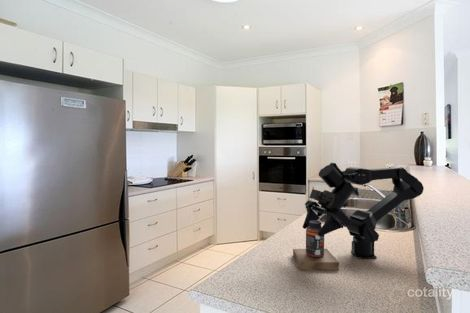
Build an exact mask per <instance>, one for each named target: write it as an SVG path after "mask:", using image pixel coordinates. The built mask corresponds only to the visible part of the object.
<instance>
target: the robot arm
mask: <svg viewBox="0 0 470 313" xmlns="http://www.w3.org/2000/svg"><path fill="white" fill-rule="evenodd" d="M318 177H319V178H320V179H321V180H322V181H323V182H324V183H325V185H326V186H328V187H329V188H330V189H331V188H333V189H332V190H331V191H330V190H326V189H324V190H323V191H321V190H317V189H314V188H313V189H312V190H311V192H310V194H309V197H308V198H309V200H307V201H305V203H304V206H305V209H306V216H305V217H304V222H303V224H302V228H303V229H304V230H306V228H307V227H309V221H311V220H316V221H319V220H320V217H321V216H323V215H325V216H326V221H324V223H323V225H322V226H321V227H322V228H321V229H320V231H319V233H318V236H319V237H321V236H323V235H324V236H325V235H327V234H329V233H333V232H334V231H336V230H339V229H344V227H345V228H346V229H347V230H348V232H349V235H350V236H352V241H351V250H350V252H351V253H352V254H353V255H354V256H355V257H356V258H357V259H377V258H378V257H377V255H375V242H377V241H378V240H379V237H380V234H379V233H378V232H377V231H376V228H377V227H376V226H377V223H378V222H379V221H380V220H382V219H383V218H385V216H388V214H390V212H392V211H393V210H394V209H396V208H397V207H399V206H400V205H401V204H402V203H404V202H405V201H410V200H414V199H416V198H418V197H420V196H421V195H422V194H423V193H424V185H423V182H421V181H420V179H418V178H417V177H415V176H414V175H412V173H409V172H408V170H406V168H404V167H402V166H401V167H400V166H391V167H382V168H381V167H380V168H379V167H378V168H372V169H371V168H370V169H369V168H368V169H367V168H363V167H362V168H360V167H352V166H351V167H347V168H345V170H341V169H340V167H339V166H338V165H337V164H336V162H330V163H329V164H328V165H325V166H324V167H322V168H321V169H320V170H319V172H318ZM389 179H390V180H391V182H392V184H393V190H392V191H391V192H390V193H389V194H387V195H386V196H385V197H383V198H382V199H381V200H379V201H378V202H377V203H375V204H374V205H373V206H371V207H370V208H369V209H367V210H366V211H363V210H360V209H358V210H356V211H354V212H353V213H352V214H349V215H347V213H345V211H344V210H342V208H344V209H345V208H346V207H347V204H346V202H348V200H349V199H350V197H352V195H353V196H356V197H357V196H358V197H359V195H360V194H359V190H358V189H359V188H358V187H355V186H354V185H358V186H364V185H367V184H369V183H371V182H372V181H377V180H379V181H380V180H389ZM314 200H315V201H314Z"/></svg>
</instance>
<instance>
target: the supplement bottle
mask: <svg viewBox="0 0 470 313" xmlns="http://www.w3.org/2000/svg"><path fill="white" fill-rule="evenodd" d="M322 226H323V225H322V221H320V220H317V221H316V220H311V221H309V227H307V228H306V229H305V249H306V254H307V255H308V256H310V257H315V258H320V257H323V256H324V249H325V235H323V236H321V237H319V236H318V233H319V231H320V229H321V228H322Z"/></svg>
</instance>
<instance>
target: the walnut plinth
mask: <svg viewBox="0 0 470 313" xmlns="http://www.w3.org/2000/svg"><path fill="white" fill-rule="evenodd" d="M292 257H293V259H294V260H295V263H296V264H297V266H298V268H299V270H300V271H339V270H340V262H339V261H338V259H336V257H335V256H334V255H333V254H332V252H330V250H329V249H328V248H324V256H323V257H320V258H315V257H310V256H308V255H307V254H306V248H293V249H292Z"/></svg>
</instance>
